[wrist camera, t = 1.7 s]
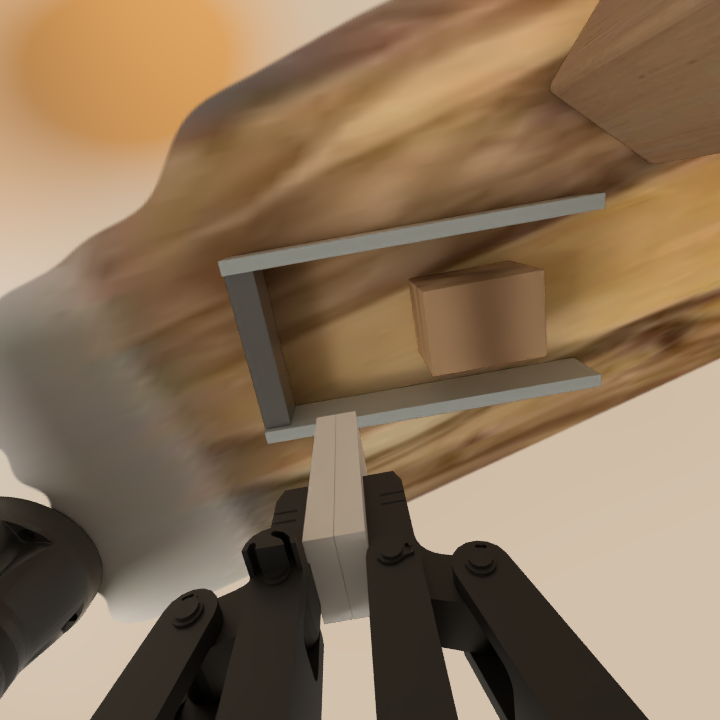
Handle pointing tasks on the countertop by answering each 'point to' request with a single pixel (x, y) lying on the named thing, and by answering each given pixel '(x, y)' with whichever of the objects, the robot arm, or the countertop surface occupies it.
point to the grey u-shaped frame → (400, 402)
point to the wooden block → (649, 76)
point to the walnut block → (479, 316)
